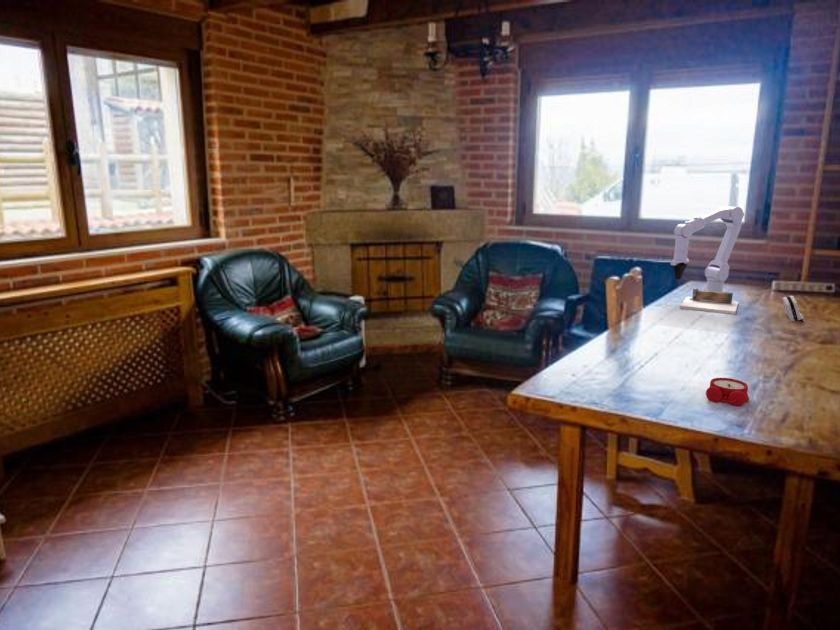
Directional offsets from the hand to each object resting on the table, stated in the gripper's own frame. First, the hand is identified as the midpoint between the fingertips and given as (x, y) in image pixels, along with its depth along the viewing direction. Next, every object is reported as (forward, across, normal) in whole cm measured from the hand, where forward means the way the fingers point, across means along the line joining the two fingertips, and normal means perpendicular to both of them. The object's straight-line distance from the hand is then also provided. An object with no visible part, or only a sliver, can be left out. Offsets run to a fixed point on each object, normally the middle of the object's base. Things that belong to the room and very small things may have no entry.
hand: (678, 279), depth 283 cm
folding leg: (+9, +5, -14) cm, 18 cm away
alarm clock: (+11, -113, -66) cm, 131 cm away
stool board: (+10, 0, -16) cm, 19 cm away
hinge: (+11, +5, -48) cm, 49 cm away
